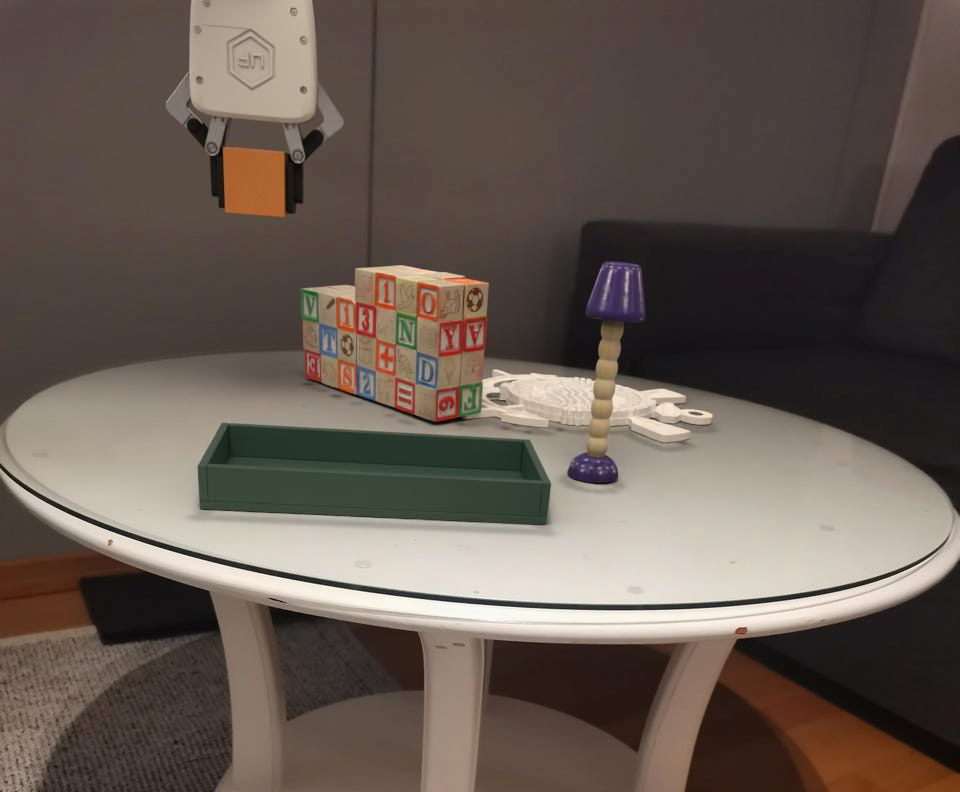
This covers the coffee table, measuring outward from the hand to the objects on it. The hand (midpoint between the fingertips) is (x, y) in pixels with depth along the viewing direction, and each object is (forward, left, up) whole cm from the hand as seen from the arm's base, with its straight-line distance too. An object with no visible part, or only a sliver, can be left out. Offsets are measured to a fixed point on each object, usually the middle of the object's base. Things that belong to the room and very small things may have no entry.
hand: (258, 207), depth 85 cm
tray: (+11, -24, -17) cm, 32 cm away
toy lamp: (+29, -17, -18) cm, 38 cm away
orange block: (0, 0, 0) cm, 0 cm away
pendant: (+32, +7, -18) cm, 37 cm away
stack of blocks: (+12, +6, -17) cm, 22 cm away
